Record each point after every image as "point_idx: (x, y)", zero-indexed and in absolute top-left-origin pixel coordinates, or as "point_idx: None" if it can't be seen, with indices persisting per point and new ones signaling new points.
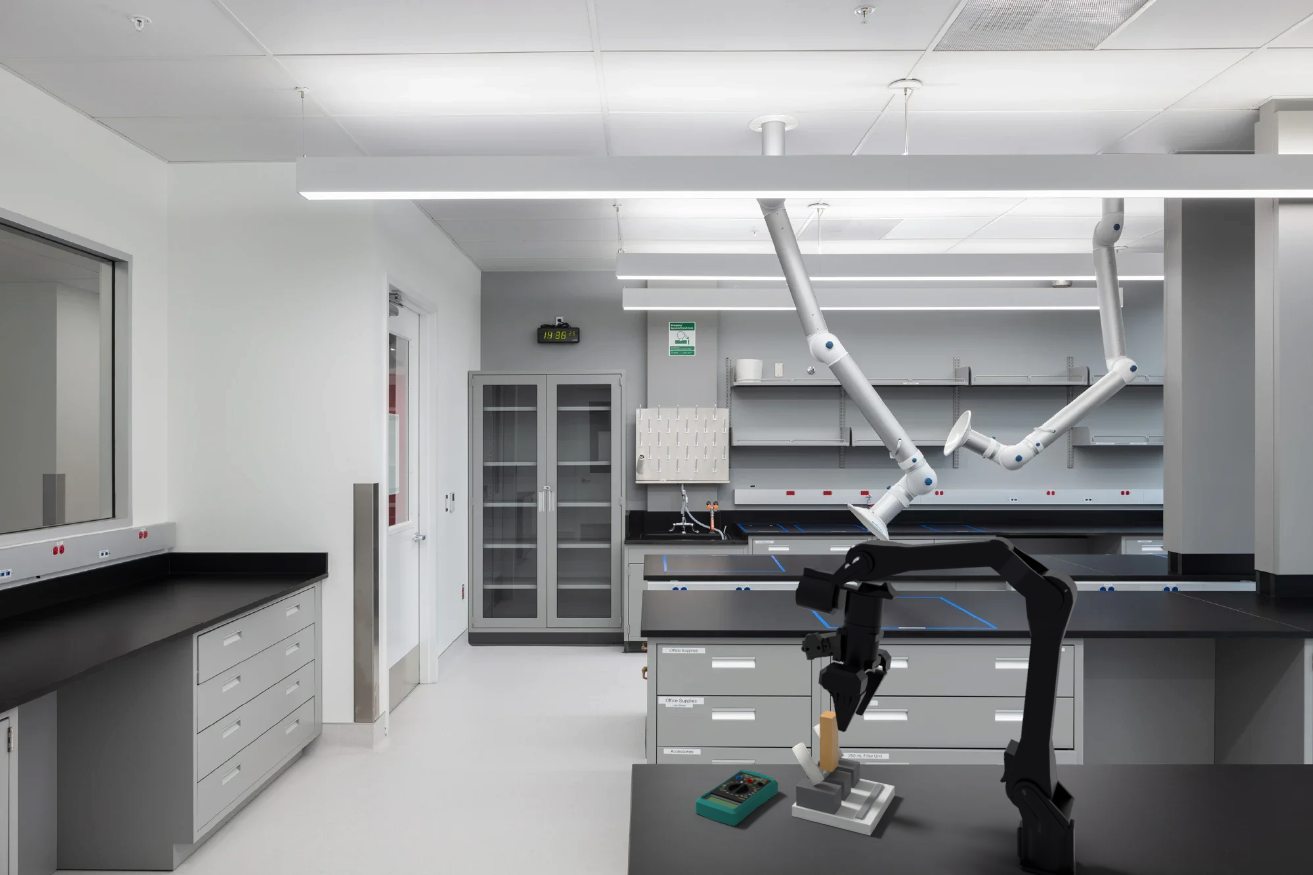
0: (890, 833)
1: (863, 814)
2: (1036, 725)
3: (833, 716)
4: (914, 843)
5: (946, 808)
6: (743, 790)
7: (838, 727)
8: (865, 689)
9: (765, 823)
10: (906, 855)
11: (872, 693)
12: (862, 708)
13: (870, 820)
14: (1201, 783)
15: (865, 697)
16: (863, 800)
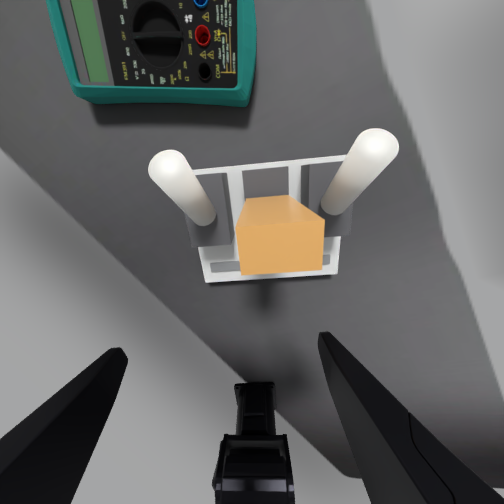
0: (228, 291)
1: (221, 270)
2: None
3: (266, 271)
4: (223, 314)
5: (324, 321)
6: (175, 44)
7: (103, 357)
8: (379, 481)
9: (139, 145)
10: (194, 314)
11: (364, 477)
12: (325, 371)
13: (217, 279)
14: (473, 454)
15: (352, 428)
16: None
